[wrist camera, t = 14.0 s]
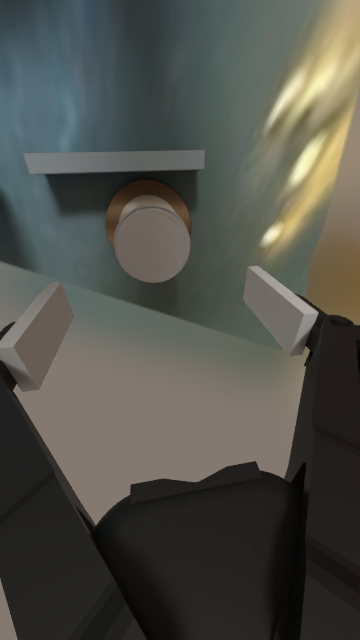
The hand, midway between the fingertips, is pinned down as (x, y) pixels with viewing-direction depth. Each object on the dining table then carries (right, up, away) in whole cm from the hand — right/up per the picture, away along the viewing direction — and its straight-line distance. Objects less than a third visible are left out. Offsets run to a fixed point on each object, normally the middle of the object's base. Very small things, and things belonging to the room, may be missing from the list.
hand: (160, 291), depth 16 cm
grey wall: (-7, +21, +16) cm, 27 cm away
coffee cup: (-4, +13, +20) cm, 24 cm away
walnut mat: (-4, +13, +21) cm, 25 cm away
